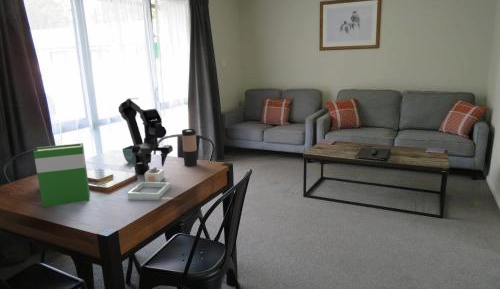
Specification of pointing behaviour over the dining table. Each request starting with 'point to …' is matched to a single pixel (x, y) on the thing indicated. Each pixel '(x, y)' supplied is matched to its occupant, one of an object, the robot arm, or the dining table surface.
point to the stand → (156, 172)
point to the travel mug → (189, 147)
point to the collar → (154, 175)
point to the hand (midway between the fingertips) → (153, 166)
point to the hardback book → (62, 174)
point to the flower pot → (128, 153)
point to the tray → (148, 196)
